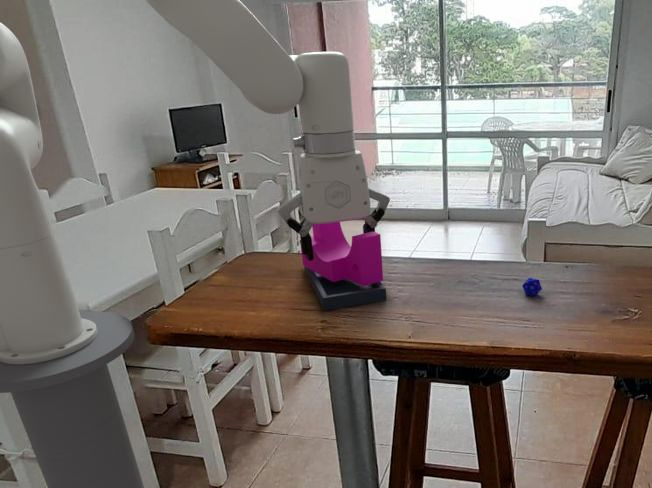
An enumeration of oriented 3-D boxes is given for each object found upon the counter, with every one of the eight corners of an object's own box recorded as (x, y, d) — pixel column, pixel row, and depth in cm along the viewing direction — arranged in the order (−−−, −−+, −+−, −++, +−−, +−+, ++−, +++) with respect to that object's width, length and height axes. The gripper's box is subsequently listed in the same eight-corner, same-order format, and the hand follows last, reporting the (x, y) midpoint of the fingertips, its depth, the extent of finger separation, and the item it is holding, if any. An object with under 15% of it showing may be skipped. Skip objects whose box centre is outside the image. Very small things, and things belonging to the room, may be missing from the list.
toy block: (303, 265, 97) (297, 222, 94) (335, 257, 100) (331, 215, 97) (348, 290, 86) (344, 242, 83) (383, 280, 89) (380, 234, 86)
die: (523, 299, 86) (517, 280, 87) (530, 299, 89) (524, 281, 89) (539, 293, 85) (533, 274, 86) (546, 293, 87) (540, 275, 88)
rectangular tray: (324, 310, 85) (322, 298, 84) (304, 270, 101) (303, 259, 100) (386, 300, 87) (385, 288, 86) (357, 262, 103) (357, 252, 102)
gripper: (272, 152, 79) (288, 269, 86) (392, 142, 84) (398, 253, 91) (267, 145, 85) (282, 254, 92) (379, 136, 90) (385, 240, 97)
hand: (339, 253), depth 92 cm, fingers open, 9 cm apart
